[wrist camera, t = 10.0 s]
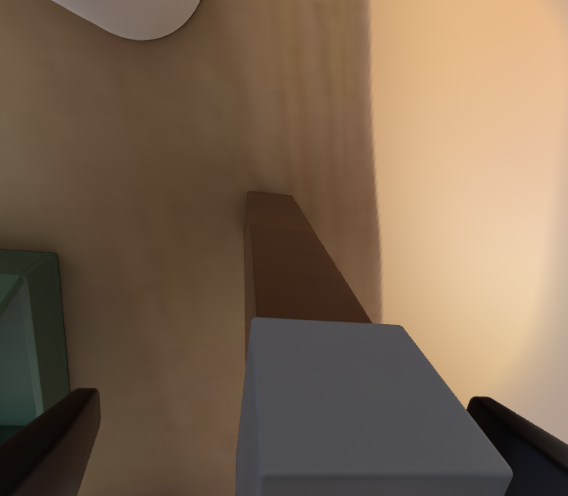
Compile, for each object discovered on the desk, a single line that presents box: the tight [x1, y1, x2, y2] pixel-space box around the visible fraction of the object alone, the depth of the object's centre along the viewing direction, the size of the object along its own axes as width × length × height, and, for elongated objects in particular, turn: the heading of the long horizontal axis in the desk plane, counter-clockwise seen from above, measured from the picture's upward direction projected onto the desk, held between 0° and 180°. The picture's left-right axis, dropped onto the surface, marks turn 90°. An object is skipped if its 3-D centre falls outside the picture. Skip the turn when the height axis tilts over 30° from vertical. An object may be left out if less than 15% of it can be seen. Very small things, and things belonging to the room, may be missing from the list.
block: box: [236, 317, 513, 496], centre depth 6 cm, size 3×3×3 cm
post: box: [244, 192, 373, 362], centre depth 13 cm, size 2×2×14 cm
